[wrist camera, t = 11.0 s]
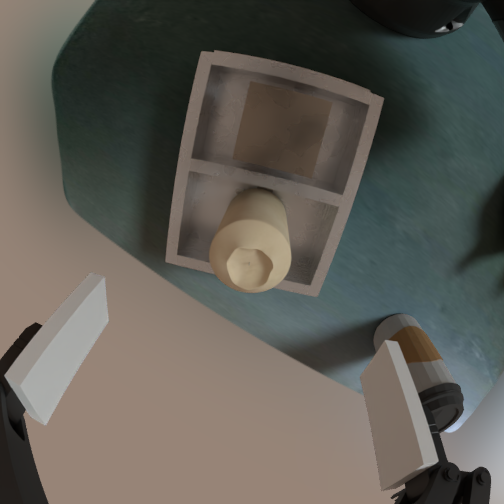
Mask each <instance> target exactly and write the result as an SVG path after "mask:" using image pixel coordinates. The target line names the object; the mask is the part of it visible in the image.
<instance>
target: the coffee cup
mask: <svg viewBox="0 0 504 504" xmlns="http://www.w3.org/2000/svg"><path fill="white" fill-rule="evenodd" d="M385 340H389V341H397V342H398V344H399V346H400V349H401V351H402V354H403V356H404V359H405V361H406V364H407V366H408V369H409V372H410V374H411V377H412V380H413V382H414V385H415V388H416V390H417V393H418V396H419V399H420V402H421V405H422V406H425V405H427V407H428V408H429V410H430V411H431V412H432V414H433V416H434V419H435V422H436V426H437V428H438V433H439V434H440V433H441V432H443V431H444V430H446V429H447V428H449V427H450V426H451V425H453V424H454V423H455V422H456V421H457V420H458V419H459V417H460V416H461V415H462V413H463V410H464V407H463V400H464V398H463V394H462V393H461V388H460V386H459V385H458V384H456V382H455V381H454V379H453V377H452V375H451V374H450V372H449V370H448V369H447V367H446V366H445V364H444V362H443V359H442V358H441V356H440V354H439V353H438V351H437V350H436V348H435V347H434V345H433V343H432V342H431V340H430V339H429V337H428V336H427V334H426V333H425V332H424V331H423V330H422V328H421V327H420V325H419V324H418V322H417V321H416V320H415V319H414V318H413V317H411V316H409V315H407V314H396V315H393V316H390V317H388V318H387V319H385V320H384V321H383V322H382V323H380V325H379V326H378V327H377V329H376V331H375V335H374V339H373V342H374V347H375V350H376V353H377V351H378V350H379V348H380V347H381V345H382V344H383V342H384V341H385Z"/></svg>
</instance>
